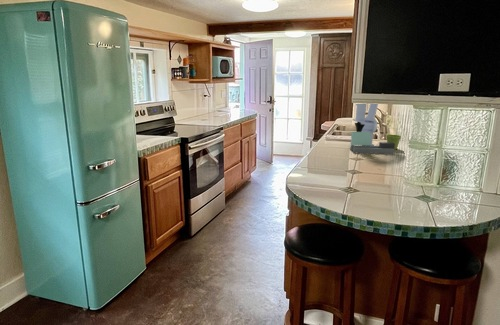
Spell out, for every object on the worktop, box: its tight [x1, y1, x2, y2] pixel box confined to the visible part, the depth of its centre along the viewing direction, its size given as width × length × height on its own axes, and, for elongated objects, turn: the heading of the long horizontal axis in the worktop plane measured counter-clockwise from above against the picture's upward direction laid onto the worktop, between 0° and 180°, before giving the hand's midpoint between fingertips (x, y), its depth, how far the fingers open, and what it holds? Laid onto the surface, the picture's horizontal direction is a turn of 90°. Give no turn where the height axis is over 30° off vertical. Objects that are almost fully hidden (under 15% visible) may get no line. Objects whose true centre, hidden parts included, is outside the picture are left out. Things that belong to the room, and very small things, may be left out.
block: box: [378, 141, 395, 149], centre depth 212 cm, size 4×8×6 cm, turn 90°
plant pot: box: [385, 134, 402, 150], centre depth 222 cm, size 9×9×9 cm
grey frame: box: [349, 144, 395, 155], centre depth 213 cm, size 11×24×6 cm, turn 89°
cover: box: [350, 131, 370, 146], centre depth 216 cm, size 8×12×1 cm
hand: (358, 134), depth 221 cm, fingers closed
